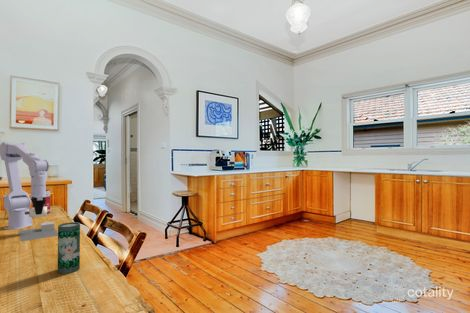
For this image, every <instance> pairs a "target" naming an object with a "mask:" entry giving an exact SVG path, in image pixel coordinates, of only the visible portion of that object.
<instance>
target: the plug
mask: <svg viewBox="0 0 470 313" xmlns="http://www.w3.org/2000/svg"><path fill="white" fill-rule="evenodd" d="M28 209H29V211H27V212H25V215H27V214H29V217H32V218H39V217H46V216H48V214H47V212H50V213H51V212H52V211H53V210H52V209H50V210H47V207H43V210H42V214H38V215H36V213H35V208H34V207H33V206H32V207H29V208H28Z"/></svg>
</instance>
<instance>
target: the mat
mask: <svg viewBox="0 0 470 313" xmlns="http://www.w3.org/2000/svg"><path fill="white" fill-rule="evenodd" d="M18 235H19V239H20V240H19V241H20V242H26V241H31V240H39V239H44V238H45V239H46V238H51V237H58V230H56V228H55V227H54V230H48V231H41V227H39V228H38V227H37V228H31V229H24V230H19V231H18Z"/></svg>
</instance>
